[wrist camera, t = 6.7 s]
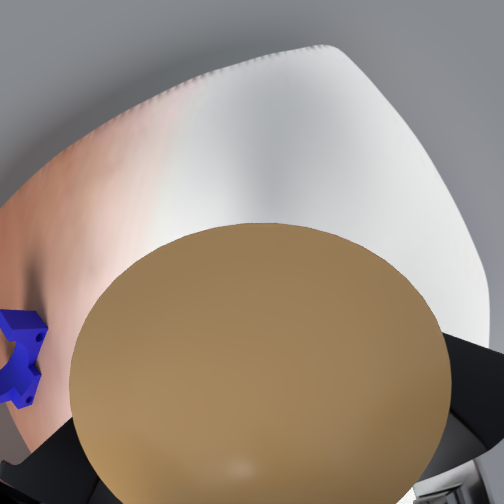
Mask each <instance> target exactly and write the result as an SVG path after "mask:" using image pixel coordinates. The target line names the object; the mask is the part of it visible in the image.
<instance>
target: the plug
mask: <svg viewBox="0 0 504 504" xmlns="http://www.w3.org/2000/svg"><path fill="white" fill-rule="evenodd" d="M451 384H452V381H451V369H450V360H449V355H448V351H447V347H446V343H445V339H444V337H443V334H442V332H441V329H440V327H439V325H438V322H437V320H436V318H435V316H434V314H433V313H432V311H431V309H430V308H429V306H428V305H427V303H426V302H425V300H424V298H423V297H422V296H421V294H420V293H419V292H418V291H417V290H416V289H415V288H414V286H413V285H412V284H411V283H410V282H409V281H408V280H407V278H406V277H404V276H403V275H402V274H401V273H400V272H399V271H397V270H396V269H395V268H394V267H393V266H391V265H390V264H389V263H388V262H387V261H385V260H384V259H382V258H380V257H379V256H377V255H376V254H374V253H372V252H371V251H369V250H367V249H366V248H364V247H362V246H360V245H358V244H356V243H353V242H351V241H349V240H346V239H344V238H342V237H339V236H337V235H334V234H330V233H327V232H323V231H319V230H315V229H312V228H308V227H302V226H294V225H286V224H278V223H244V224H237V225H230V226H223V227H216V228H212V229H208V230H204V231H201V232H197V233H194V234H190V235H187V236H184V237H182V238H180V239H177V240H175V241H173V242H170V243H168V244H166V245H164V246H161V247H159V248H157V249H156V250H154V251H153V252H151V253H149V254H148V255H146V256H145V257H143V258H141V259H140V260H138V261H137V262H135V263H134V264H133V265H131V266H130V267H129V268H128V269H127V270H126V271H124V272H123V273H122V274H121V275H120V276H119V277H117V278H116V279H115V280H114V281H113V282H112V284H111V285H110V286H109V287H108V288H107V289H106V290H105V292H104V293H103V294H102V295H101V296H100V297H99V299H98V300H97V302H96V303H95V305H94V306H93V308H92V310H91V311H90V313H89V314H88V316H87V318H86V320H85V322H84V324H83V326H82V329H81V331H80V333H79V336H78V338H77V341H76V345H75V349H74V352H73V356H72V360H71V369H70V379H69V391H70V405H71V411H72V416H73V421H74V425H75V428H76V432H77V435H78V437H79V440H80V443H81V445H82V447H83V450H84V452H85V454H86V456H87V458H88V460H89V462H90V463H91V465H92V466H93V468H94V470H95V471H96V473H97V474H98V476H99V477H100V479H101V480H102V481H103V482H104V484H105V485H106V486H107V487H108V488H109V490H110V491H111V492H112V493H113V494H114V495H115V496H116V497H117V498H118V499H119V500H120V501H121V502H122V503H123V504H396V503H397V502H398V501H399V500H400V499H401V498H402V497H403V496H404V495H405V494H406V493H407V492H408V491H409V490H410V489H411V487H412V486H413V485H414V484H415V483H416V482H417V480H418V479H419V478H420V476H421V475H422V473H423V472H424V470H425V469H426V467H427V466H428V464H429V463H430V461H431V459H432V457H433V455H434V453H435V451H436V449H437V447H438V445H439V443H440V440H441V437H442V434H443V432H444V429H445V426H446V422H447V417H448V413H449V408H450V400H451Z"/></svg>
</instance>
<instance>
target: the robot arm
mask: <svg viewBox="0 0 504 504" xmlns="http://www.w3.org/2000/svg"><path fill="white" fill-rule="evenodd" d="M442 334H443V337H444V339H445V343H446V347H447V351H448V355H449V360H450V369H451V381H452V384H451V400H450V408H449V413H448V417H447V422H446V426H445V429H444V432H443V434H442V437H441V440H440V443H439V445H438V447H437V449H436V451H435V453H434V455H433V457H432V459H431V461H430V463H429V464H428V466H427V467H426V469H425V470H424V472H423V473H422V475H421V476H420V478H419V479H418V480H417V482H416V483H415V484H414V485H413V486H412V487H413V490H414V493H415V496H416V500H414V501H413V504H504V354H502V353H499V352H496V351H493V350H491V349H488V348H485V347H482V346H479V345H476V344H474V343H471V342H468V341H465V340H462V339H460V338H457V337H454V336H451V335H449V334H446V333H443V332H442ZM0 479H1V480H0V504H123V503H122V502H121V501H120V500H119V499H118V498H117V497H116V496H115V495H114V494H113V493H112V492H111V491H110V490H109V488H108V487H107V486H106V485H105V484H104V482H103V481H102V480H101V479H100V477H99V476H98V474H97V473H96V471H95V470H94V468H93V466H92V465H91V463H90V462H89V460H88V458H87V456H86V454H85V452H84V450H83V447H82V445H81V443H80V440H79V437H78V435H77V432H76V428H75V425H74V421H73V417H71V418H70V419H69V420H68V421H67V422H66V423H65V424H64V425H63V426H62V427H60V428H59V429H58V430H57V431H56V432H55V433H54V434H53V435H52V436H50V437H49V438H48V439H47V440H46V441H45V442H44V443H43V444H42V445H41V446H39V447H38V448H37V449H36V450H35V451H34V452H33V453H32V454H31V455H30V456H29V457H27V458H26V459H25V460H24V461H23V462H22V463H20V464H18V465H12V464H11V463H9V462H7V461H5V460H3V461H1V463H0Z"/></svg>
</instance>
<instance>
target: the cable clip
mask: <svg viewBox="0 0 504 504" xmlns="http://www.w3.org/2000/svg"><path fill="white" fill-rule="evenodd" d="M0 328H1V330H2V331H3V333H4V335H5V336H6V338H7V339H8V341H15V342H16V345H15V349H14V352H13V355H12V357H11V358H10V360H9V361H8V363H7V364H6V365H5V366H4V367H3V368H2V369H1V370H0V403H3V402H6V401H10V400H12V402H13V403H14V405H15V406H16V407H17V409H20V408H23V407H26V406H29V405H32V403H33V399H34V396H35V393H36V390H37V386H38V383H39V380H40V377H41V375H42V374H41V373H40V372H39V371H38V369H37V368H36V367H35V362H36V359H37V357H38V354H39V351H40V348H41V346H42V343H43V340H44V338H45V335H46V333H47V330H48V327H47V326H46V325H45V323H44V322H43V321H42V320H41V318H40V317H39V316H38V314H37V313H36V312H35V311H24V310H4V309H0Z"/></svg>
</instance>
